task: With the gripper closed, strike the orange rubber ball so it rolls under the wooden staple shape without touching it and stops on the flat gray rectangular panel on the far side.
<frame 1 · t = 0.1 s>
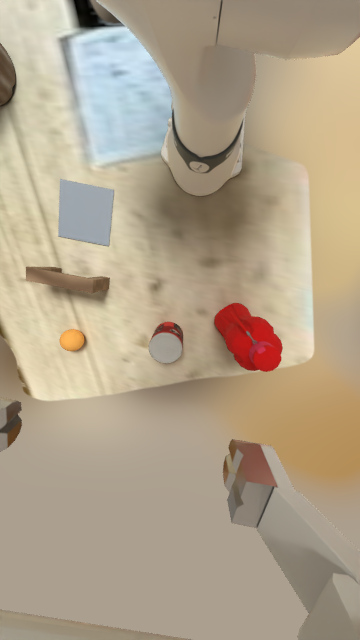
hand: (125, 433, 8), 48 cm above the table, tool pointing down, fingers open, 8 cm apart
wooden staple shape: (81, 278, 54), on the table
ball: (72, 340, 55), on the table
canned food: (169, 333, 57), on the table
water bottle: (230, 317, 56), on the table
flat gray rectangular panel: (85, 213, 50), on the table
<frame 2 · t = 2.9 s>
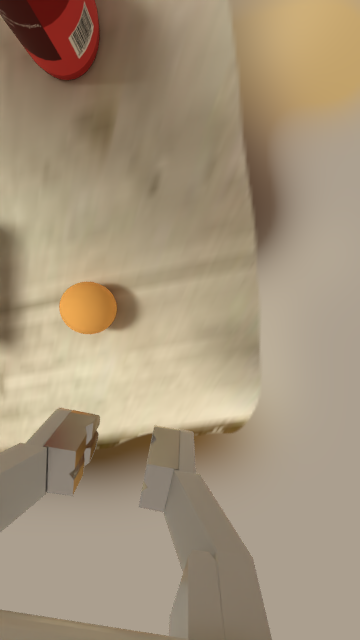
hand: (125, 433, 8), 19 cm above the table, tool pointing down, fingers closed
ball: (89, 308, 23), on the table
canned food: (64, 34, 20), on the table
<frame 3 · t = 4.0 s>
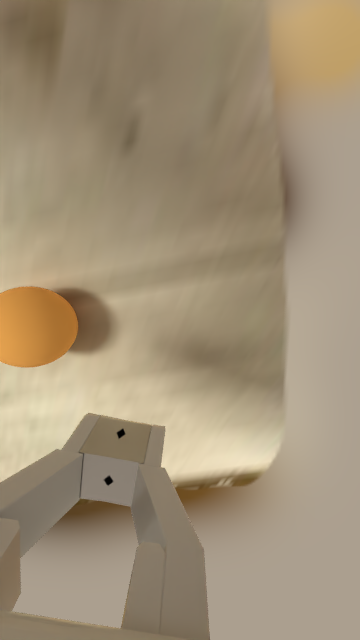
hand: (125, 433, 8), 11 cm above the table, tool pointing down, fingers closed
ball: (33, 326, 15), on the table
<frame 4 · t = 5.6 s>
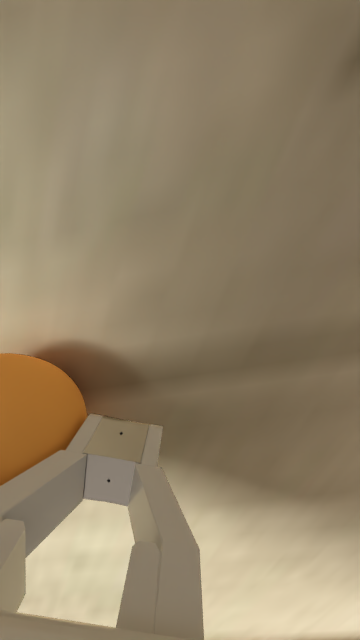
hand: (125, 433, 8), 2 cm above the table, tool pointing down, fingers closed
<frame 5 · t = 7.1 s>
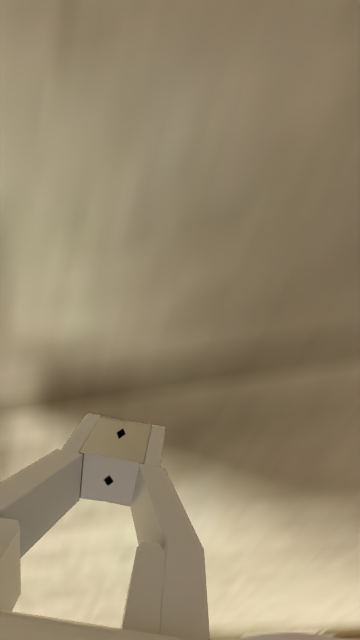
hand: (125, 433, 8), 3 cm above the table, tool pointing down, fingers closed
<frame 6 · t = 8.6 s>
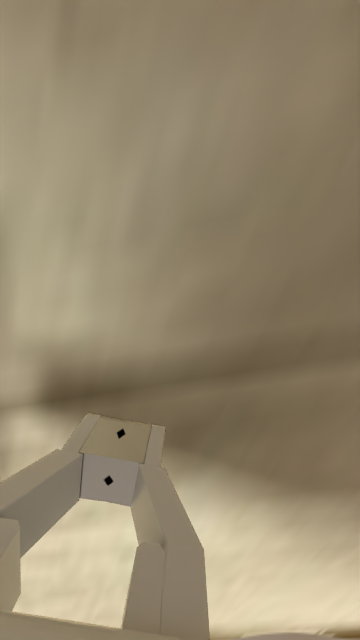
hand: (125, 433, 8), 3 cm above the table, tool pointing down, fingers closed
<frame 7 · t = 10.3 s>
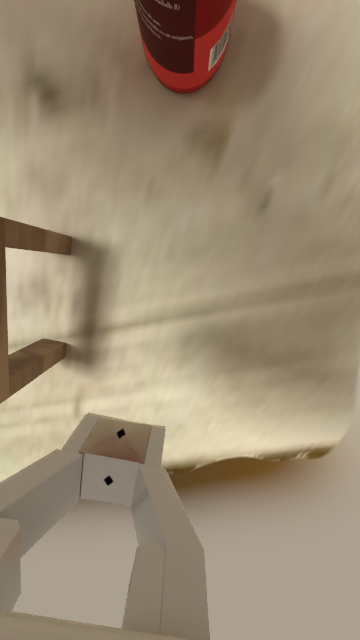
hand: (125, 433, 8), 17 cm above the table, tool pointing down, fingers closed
wooden staple shape: (55, 299, 24), on the table
canned food: (185, 45, 18), on the table
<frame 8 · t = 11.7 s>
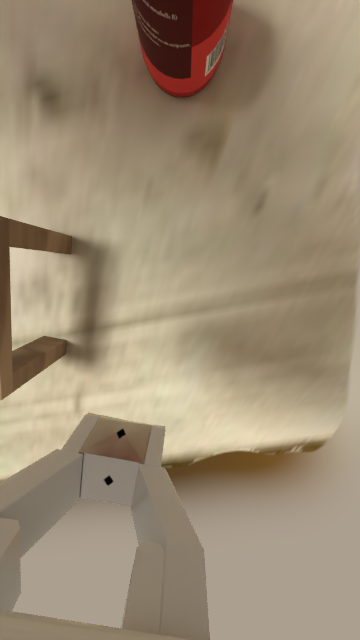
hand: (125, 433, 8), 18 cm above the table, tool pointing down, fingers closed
wooden staple shape: (56, 297, 25), on the table
canned food: (183, 50, 19), on the table
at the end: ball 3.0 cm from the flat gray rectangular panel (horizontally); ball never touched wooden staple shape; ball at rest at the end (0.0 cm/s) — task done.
